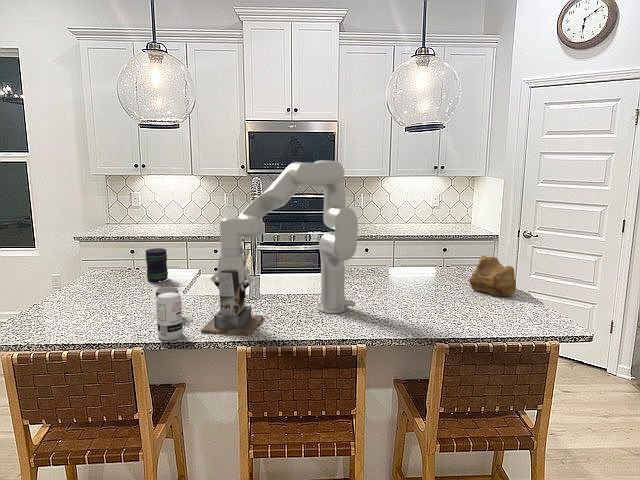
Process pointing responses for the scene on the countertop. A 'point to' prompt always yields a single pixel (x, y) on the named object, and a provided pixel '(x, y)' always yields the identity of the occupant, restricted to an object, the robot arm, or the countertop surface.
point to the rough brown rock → (493, 277)
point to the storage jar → (156, 264)
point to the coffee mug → (166, 290)
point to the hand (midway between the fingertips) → (232, 299)
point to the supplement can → (169, 316)
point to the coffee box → (230, 294)
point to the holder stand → (234, 323)
